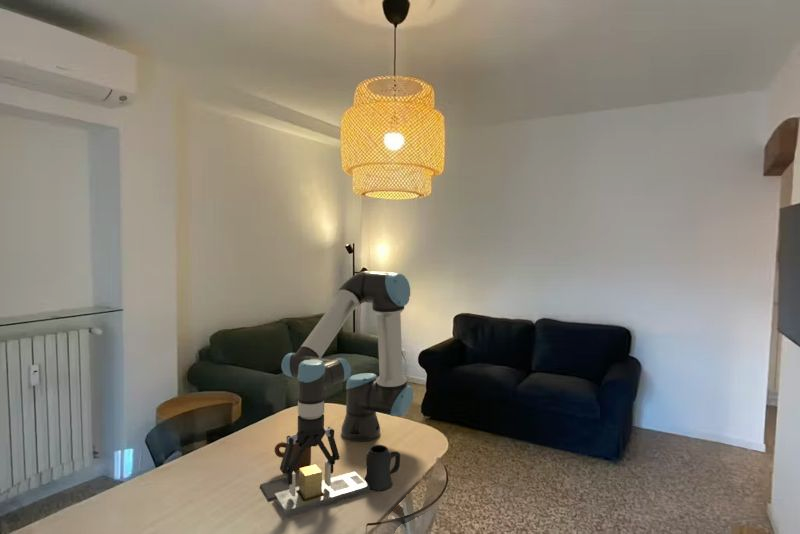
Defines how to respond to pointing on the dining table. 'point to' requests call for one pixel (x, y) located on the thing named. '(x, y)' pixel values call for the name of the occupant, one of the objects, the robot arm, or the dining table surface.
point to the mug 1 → (304, 459)
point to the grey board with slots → (323, 494)
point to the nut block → (310, 482)
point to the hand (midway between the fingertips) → (310, 488)
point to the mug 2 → (380, 468)
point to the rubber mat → (274, 487)
